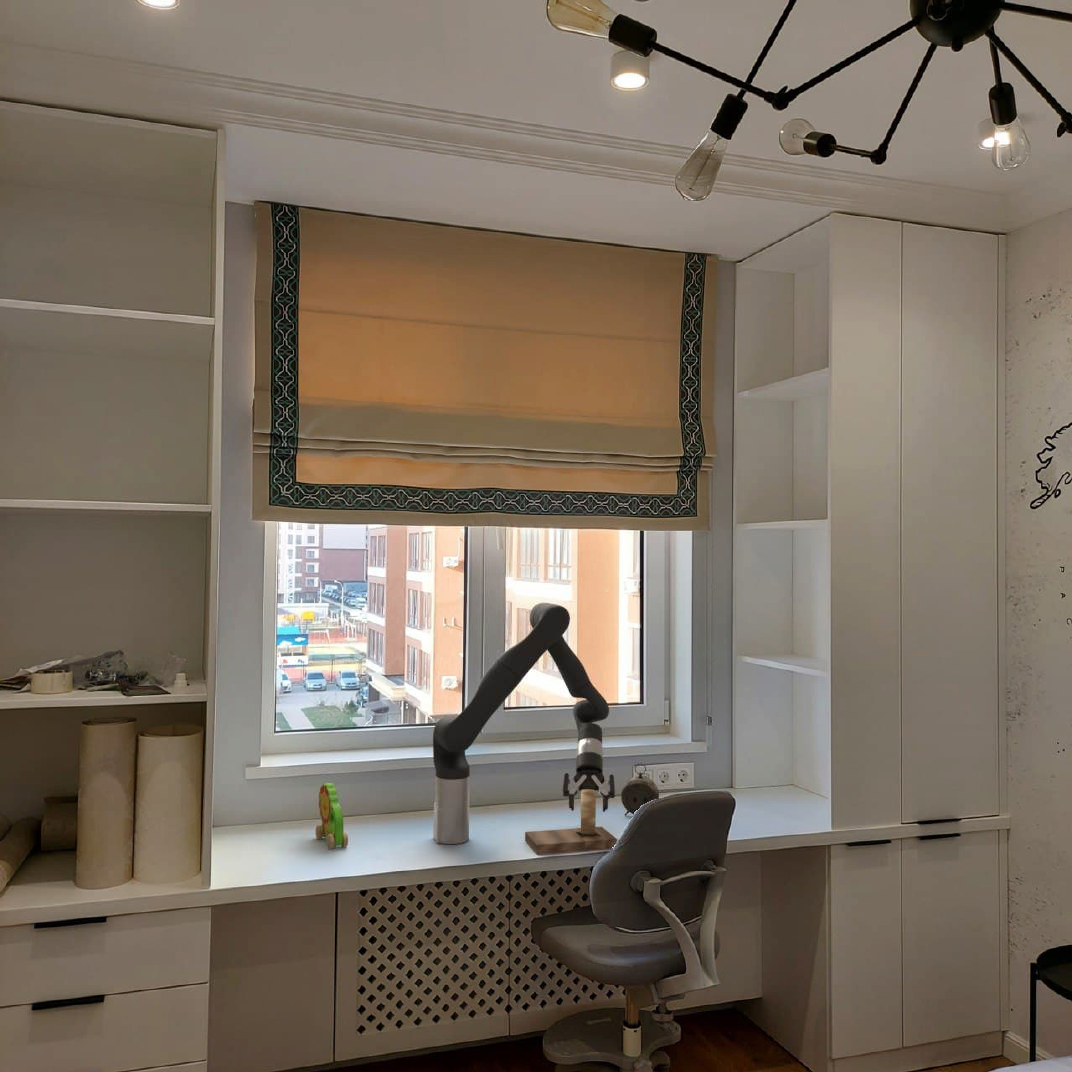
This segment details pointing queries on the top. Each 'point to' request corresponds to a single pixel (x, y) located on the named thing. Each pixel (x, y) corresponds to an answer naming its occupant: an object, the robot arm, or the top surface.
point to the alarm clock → (638, 792)
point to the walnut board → (568, 840)
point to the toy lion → (331, 818)
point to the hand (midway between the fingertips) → (588, 809)
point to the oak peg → (588, 813)
